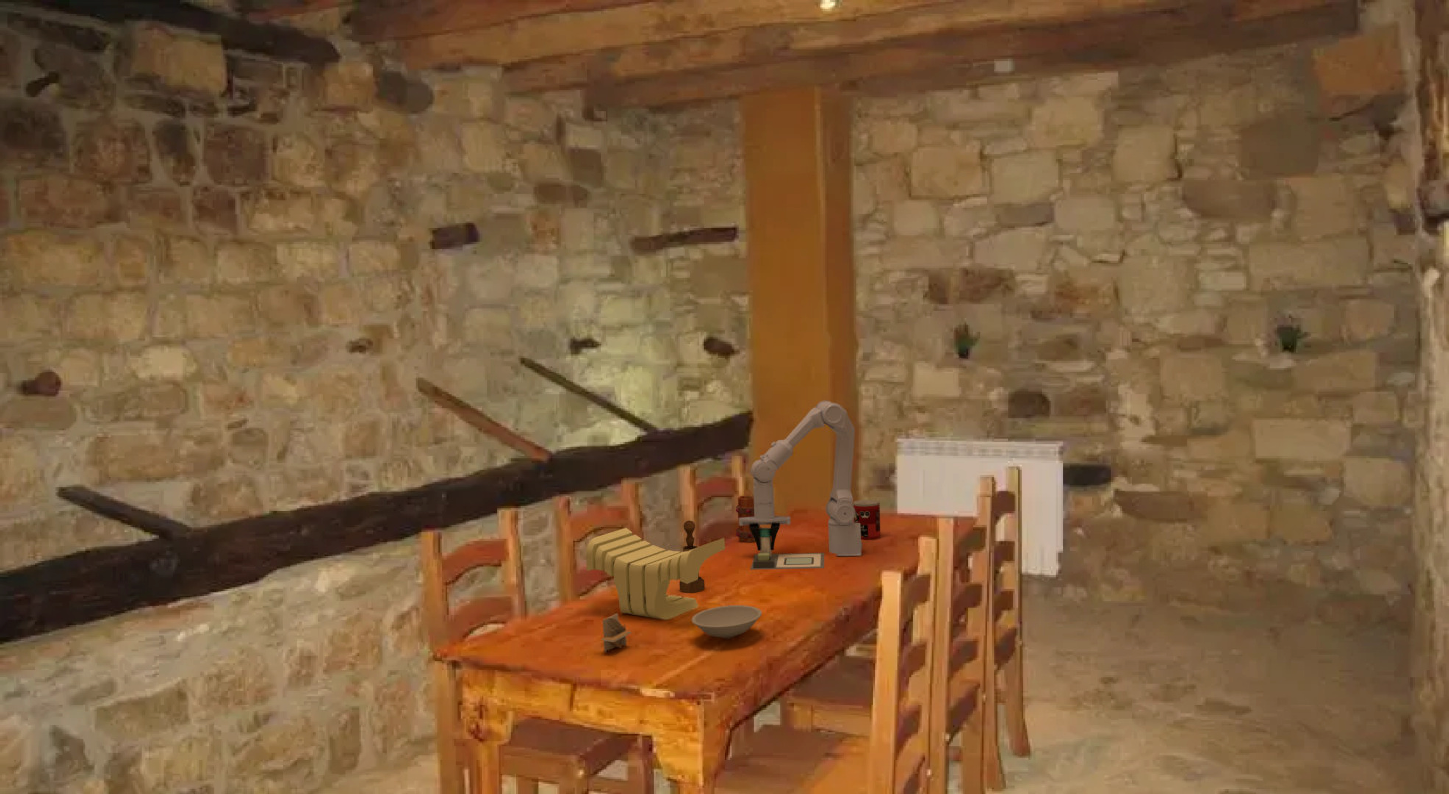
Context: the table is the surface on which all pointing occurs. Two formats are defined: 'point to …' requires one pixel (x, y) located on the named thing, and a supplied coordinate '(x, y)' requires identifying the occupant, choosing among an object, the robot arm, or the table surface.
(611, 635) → the architectural model
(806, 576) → the table surface
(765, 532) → the marker
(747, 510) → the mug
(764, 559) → the button
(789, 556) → the colouring board
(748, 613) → the dish
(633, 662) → the table surface
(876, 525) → the canned food
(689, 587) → the brown tall knobbed piece
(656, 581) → the slatted curved stool
